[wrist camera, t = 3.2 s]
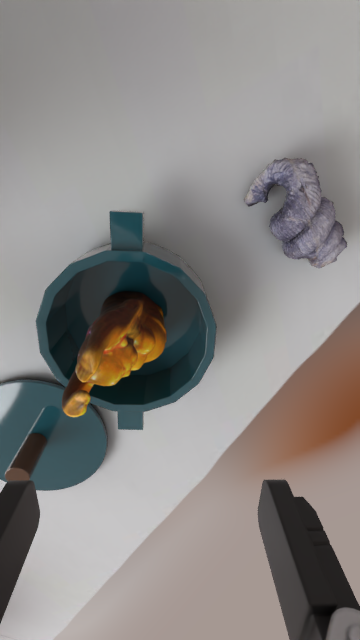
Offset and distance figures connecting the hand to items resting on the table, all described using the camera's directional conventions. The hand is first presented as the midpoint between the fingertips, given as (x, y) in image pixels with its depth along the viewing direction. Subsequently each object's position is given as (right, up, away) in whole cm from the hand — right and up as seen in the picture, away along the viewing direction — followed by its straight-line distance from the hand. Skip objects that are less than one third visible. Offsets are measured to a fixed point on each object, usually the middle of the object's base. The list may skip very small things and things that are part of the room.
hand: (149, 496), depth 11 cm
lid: (-15, -7, +24) cm, 30 cm away
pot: (-3, +7, +20) cm, 21 cm away
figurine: (-3, +6, +20) cm, 21 cm away
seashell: (+11, +15, +17) cm, 25 cm away
